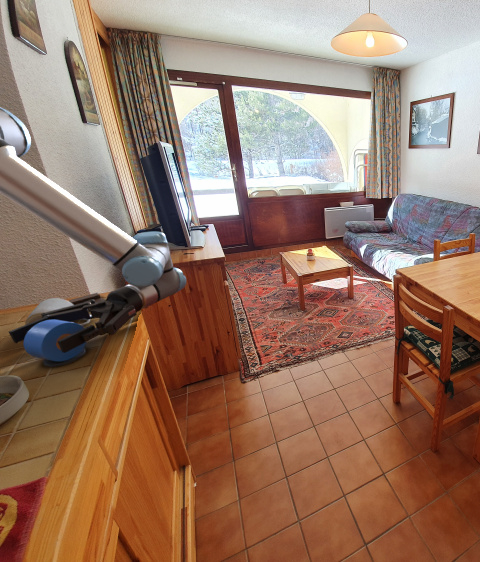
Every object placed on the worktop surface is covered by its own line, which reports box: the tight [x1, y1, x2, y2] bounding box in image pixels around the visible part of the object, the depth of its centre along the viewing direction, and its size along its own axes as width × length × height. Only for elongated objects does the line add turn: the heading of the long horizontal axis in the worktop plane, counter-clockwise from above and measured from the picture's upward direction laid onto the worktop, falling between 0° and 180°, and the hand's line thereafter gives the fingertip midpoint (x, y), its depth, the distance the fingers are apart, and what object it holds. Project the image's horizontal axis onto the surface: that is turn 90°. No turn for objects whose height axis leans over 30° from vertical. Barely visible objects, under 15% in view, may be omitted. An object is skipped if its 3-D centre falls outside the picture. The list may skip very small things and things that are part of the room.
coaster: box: [43, 347, 86, 368], centre depth 69 cm, size 7×7×1 cm
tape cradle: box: [68, 292, 106, 305], centre depth 91 cm, size 11×7×2 cm, turn 56°
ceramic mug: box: [24, 297, 91, 327], centre depth 79 cm, size 11×8×8 cm
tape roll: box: [23, 320, 87, 361], centre depth 67 cm, size 5×8×8 cm, turn 167°
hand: (36, 342), depth 64 cm, fingers open, 13 cm apart
